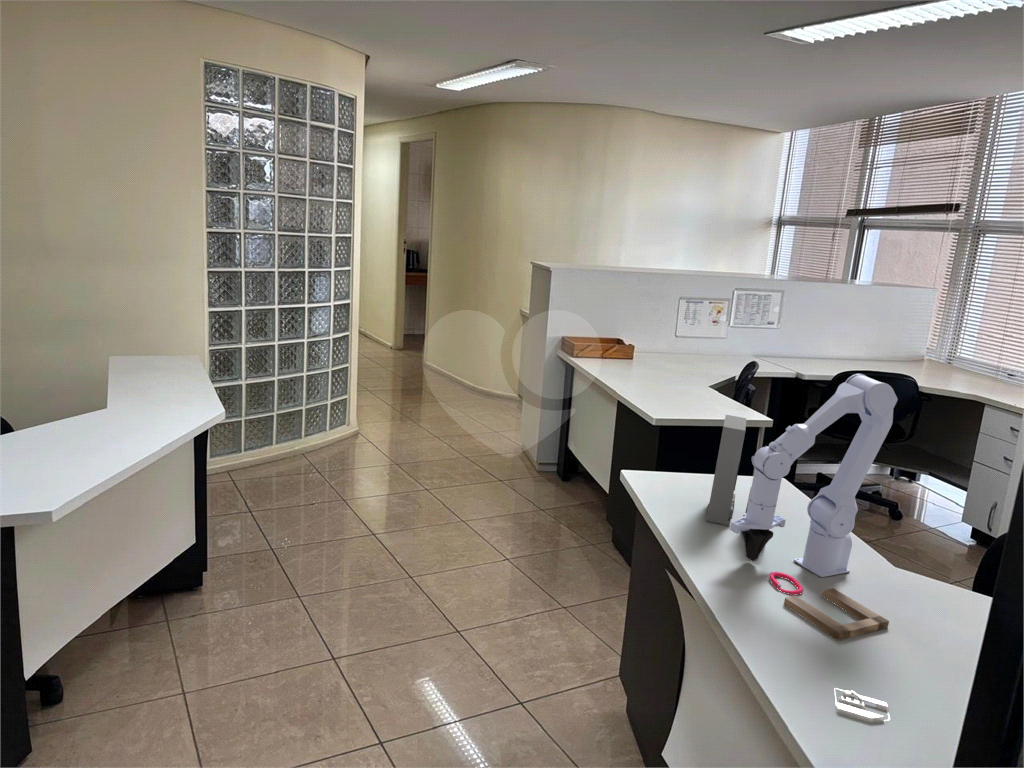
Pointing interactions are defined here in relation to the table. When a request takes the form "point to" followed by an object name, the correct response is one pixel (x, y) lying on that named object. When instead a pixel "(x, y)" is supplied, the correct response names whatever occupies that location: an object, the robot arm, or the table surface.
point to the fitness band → (779, 574)
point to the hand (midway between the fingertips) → (751, 558)
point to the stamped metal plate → (857, 712)
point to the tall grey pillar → (726, 471)
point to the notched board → (832, 627)
